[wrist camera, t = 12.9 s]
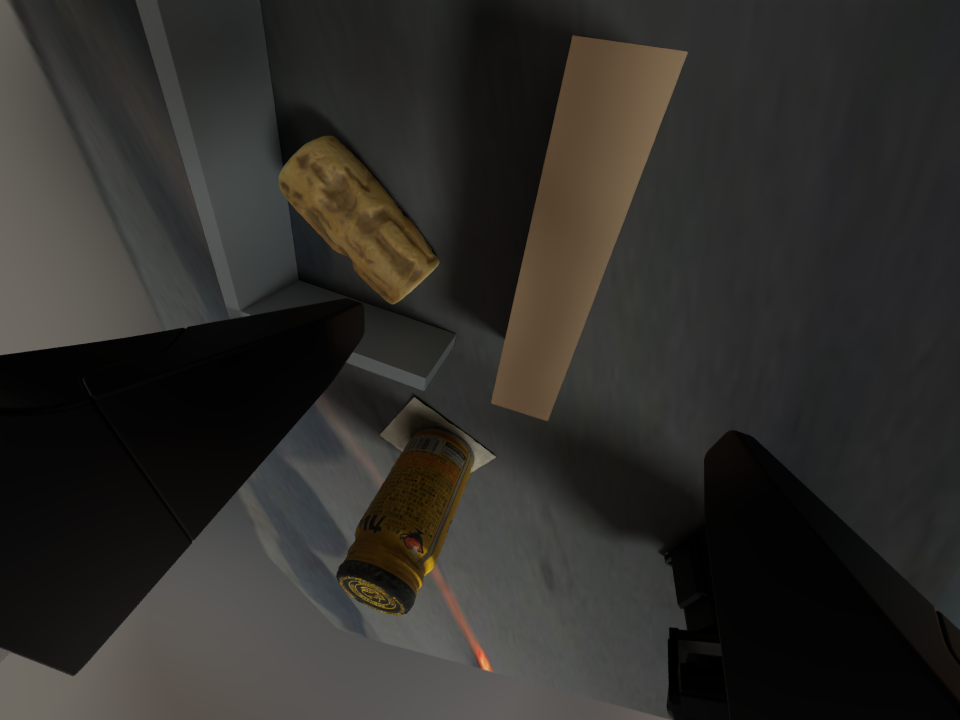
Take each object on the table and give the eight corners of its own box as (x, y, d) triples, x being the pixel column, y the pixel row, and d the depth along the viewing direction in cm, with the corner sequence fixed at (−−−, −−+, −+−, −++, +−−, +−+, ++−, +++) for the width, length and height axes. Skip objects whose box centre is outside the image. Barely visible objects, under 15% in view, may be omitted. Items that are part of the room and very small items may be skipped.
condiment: (451, 484, 33) (391, 628, 24) (380, 433, 32) (287, 564, 23) (497, 454, 29) (444, 617, 20) (416, 394, 28) (318, 536, 18)
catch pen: (526, -40, 13) (491, -109, 9) (454, 345, 24) (424, 391, 20) (225, -103, 14) (80, -187, 10) (288, 288, 25) (229, 320, 21)
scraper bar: (659, 74, 14) (687, 51, 9) (560, 356, 22) (547, 421, 17) (583, 62, 14) (572, 35, 9) (515, 343, 22) (490, 403, 18)
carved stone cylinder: (451, 256, 20) (423, 281, 17) (407, 293, 23) (375, 321, 19) (350, 127, 18) (295, 128, 15) (312, 182, 20) (258, 193, 17)
